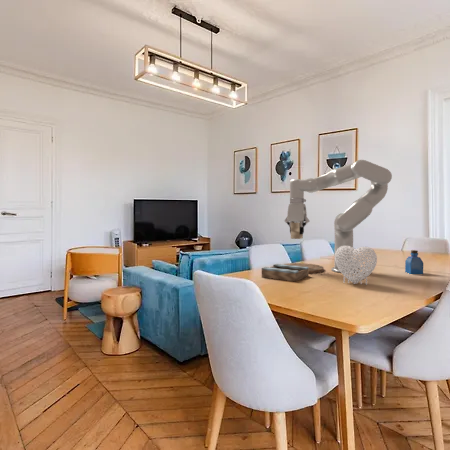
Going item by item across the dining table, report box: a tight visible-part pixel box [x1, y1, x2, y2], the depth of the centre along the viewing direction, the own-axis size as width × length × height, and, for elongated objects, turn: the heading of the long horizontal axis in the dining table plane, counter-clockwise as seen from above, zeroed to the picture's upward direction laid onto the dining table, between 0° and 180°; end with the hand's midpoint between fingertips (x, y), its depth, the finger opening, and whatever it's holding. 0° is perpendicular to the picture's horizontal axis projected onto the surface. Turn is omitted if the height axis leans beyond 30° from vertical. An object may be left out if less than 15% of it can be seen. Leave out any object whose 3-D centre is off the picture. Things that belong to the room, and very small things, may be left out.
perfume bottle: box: [404, 249, 424, 275], centre depth 173 cm, size 6×6×12 cm
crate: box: [261, 263, 309, 282], centre depth 168 cm, size 18×16×5 cm
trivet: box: [283, 262, 325, 275], centre depth 187 cm, size 25×25×2 cm
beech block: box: [290, 222, 304, 240], centre depth 187 cm, size 5×5×9 cm
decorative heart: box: [334, 246, 378, 286], centre depth 151 cm, size 18×11×17 cm, turn 57°
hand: (296, 233), depth 187 cm, fingers closed on beech block, 5 cm apart
